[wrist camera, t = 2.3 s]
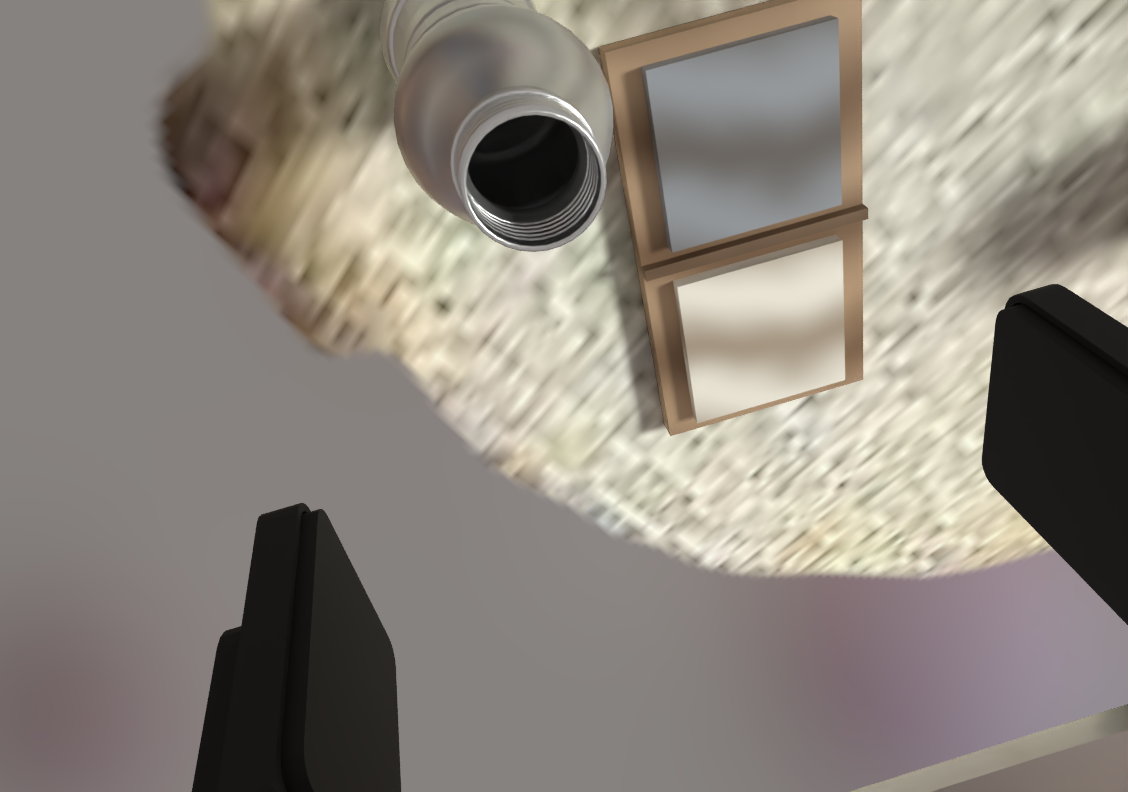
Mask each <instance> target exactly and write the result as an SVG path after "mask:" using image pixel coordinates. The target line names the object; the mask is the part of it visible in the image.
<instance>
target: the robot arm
mask: <svg viewBox="0 0 1128 792" xmlns="http://www.w3.org/2000/svg"><path fill="white" fill-rule="evenodd" d="M982 465H983V470H984V472H985V475H986V477H987V479H988V481H989V482H990V483H991V485H992V486H993V487H994V488H995V489H996V490H997V491H998V492H999V493H1000V494H1001V495H1002V496H1003V497H1004V498H1005V499H1006V500H1007V501H1008V502H1009V503H1010V504H1011V505H1012V506H1013V508H1014V509H1015V510H1016V511H1017V512H1018V513H1019V514H1020V515H1021V516H1022V517H1023V518H1024V519H1025V520H1026V521H1027V522H1028V523H1029V524H1030V525H1031V526H1032V527H1033V528H1034V529H1035V530H1036V531H1037V532H1038V533H1039V534H1040V535H1041V536H1042V537H1043V538H1044V539H1045V540H1046V541H1047V543H1048V544H1049V545H1050V546H1051V547H1052V548H1053V549H1054V550H1055V551H1056V552H1057V553H1058V554H1059V555H1060V556H1061V557H1062V558H1063V559H1064V560H1065V561H1066V562H1067V563H1068V564H1069V565H1070V566H1071V567H1072V568H1073V569H1074V570H1075V571H1076V572H1077V573H1078V574H1079V575H1080V576H1081V578H1082V579H1083V580H1084V581H1085V582H1087V584H1088V585H1089V586H1090V587H1091V588H1092V589H1093V590H1094V591H1095V592H1096V593H1097V594H1098V595H1099V596H1100V597H1101V598H1102V599H1103V600H1104V601H1105V602H1106V603H1107V604H1108V605H1109V606H1110V607H1111V608H1112V609H1113V610H1114V611H1115V612H1116V614H1117V615H1118V616H1119V617H1121V619H1122V620H1123V621H1124V622H1125V623H1126V624H1127V625H1128V327H1126V326H1125V325H1123V324H1121V323H1120V322H1118V321H1117V320H1115V319H1114V318H1112V317H1111V316H1109V315H1107V314H1106V313H1104V312H1103V311H1101V310H1100V309H1098V308H1097V307H1095V306H1093V305H1092V304H1090V303H1089V302H1087V301H1086V300H1084V299H1083V298H1081V297H1079V296H1078V295H1076V294H1075V293H1073V292H1072V291H1070V290H1068V289H1067V288H1065V287H1063V286H1061V285H1059V284H1051V285H1047V286H1044V287H1041V288H1037V289H1034V290H1030V291H1027V292H1023V293H1020V294H1017V295H1014V296H1012V297H1010V298H1009V300H1008V301H1007V303H1006V306H1005V309H1003V310H1001V311H1000V312H999V313H998V315H997V318H996V323H995V333H994V343H993V353H992V363H991V373H990V383H989V393H988V403H987V413H986V423H985V433H984V443H983V452H982ZM192 792H401V779H400V756H399V733H398V709H397V685H396V665H395V657H394V653H393V648H392V645H391V642H390V639H389V637H388V635H387V633H386V631H385V629H384V627H383V625H382V623H381V621H380V619H379V617H378V615H377V613H376V611H375V609H374V607H373V605H372V603H371V601H370V599H369V597H368V595H367V594H366V591H365V589H364V588H363V586H362V584H361V581H360V580H359V577H358V576H357V573H356V572H355V570H354V568H353V566H352V564H351V562H350V560H349V558H348V556H347V554H346V552H345V550H344V548H343V546H342V544H341V542H340V540H339V538H338V536H337V534H336V532H335V530H334V528H333V526H332V524H331V522H330V520H329V518H328V516H327V514H326V513H325V511H324V510H322V509H319V510H315V511H312V512H311V511H310V509H309V508H308V507H307V505H306V504H304V503H300V504H296V505H293V506H289V507H286V508H283V509H279V510H276V511H272V512H269V513H266V514H262V515H261V516H259V518H258V521H257V527H256V533H255V539H254V546H253V553H252V559H251V567H250V573H249V579H248V586H247V593H246V600H245V606H244V614H243V620H242V626H240V627H237V628H233V629H230V630H227V631H225V632H224V633H223V634H222V636H221V637H220V640H219V643H218V646H217V651H216V657H215V662H214V668H213V674H212V680H211V685H210V691H209V697H208V702H207V708H206V714H205V720H204V725H203V732H202V737H201V743H200V748H199V754H198V760H197V765H196V771H195V777H194V783H193V788H192ZM851 792H1128V704H1127V705H1124V706H1120V707H1117V708H1114V709H1111V710H1107V711H1104V712H1101V713H1098V714H1095V715H1092V716H1088V717H1085V718H1082V719H1079V720H1075V721H1072V722H1069V723H1066V724H1063V725H1059V726H1056V727H1053V728H1050V729H1046V730H1043V731H1040V732H1037V733H1034V734H1030V735H1027V736H1024V737H1021V738H1018V739H1015V740H1011V741H1009V742H1006V743H1002V744H999V745H996V746H993V747H989V748H986V749H983V750H980V751H977V752H974V753H970V754H967V755H964V756H961V757H958V758H955V759H951V760H948V761H945V762H942V763H939V764H936V765H933V766H929V767H926V768H923V769H920V770H917V771H914V772H911V773H907V774H904V775H901V776H898V777H895V778H892V779H889V780H885V781H882V782H879V783H876V784H873V785H869V786H866V787H863V788H860V789H857V790H854V791H851Z"/></svg>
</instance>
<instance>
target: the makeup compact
mask: <svg viewBox="0 0 1128 792" xmlns="http://www.w3.org/2000/svg"><path fill="white" fill-rule="evenodd" d="M599 52H600V58H601V63H602V69H603V74H604V77H605V79H606V81H607V83H608V87H609V91H610V96H611V100H612V105H613V132H614V138H615V144H616V149H617V155H618V161H619V166H620V172H621V178H622V184H623V189H624V195H625V201H626V207H627V212H628V218H629V224H630V229H631V235H632V241H633V247H634V252H635V258H636V264H637V270H638V275H639V281H640V287H641V292H642V298H643V304H644V310H645V315H646V321H647V327H648V332H649V338H650V344H651V350H652V355H653V361H654V367H655V373H656V378H657V384H658V390H659V395H660V401H661V407H662V413H663V418H664V424H665V426H666V428H667V430H668V432H669V434H670V436H672V435H676V434H679V433H683V432H686V431H689V430H693V429H696V428H700V427H703V426H706V425H710V424H713V423H717V422H720V421H723V420H727V419H730V418H734V417H737V416H741V415H744V414H747V413H751V412H754V411H758V410H761V409H764V408H768V407H771V406H775V405H778V404H781V403H785V402H788V401H792V400H795V399H798V398H802V397H805V396H809V395H812V394H815V393H819V392H822V391H826V390H829V389H833V388H836V387H839V386H843V385H846V384H850V383H853V382H856V381H860V380H863V229H862V220H865V219H868V208H867V207H866V206H865V205H863V204H862V0H771V1H767V2H763V3H760V4H756V5H752V6H749V7H745V8H741V9H737V10H734V11H730V12H726V13H723V14H719V15H715V16H712V17H708V18H704V19H700V20H697V21H693V22H689V23H686V24H682V25H678V26H675V27H671V28H667V29H663V30H660V31H656V32H652V33H649V34H645V35H641V36H638V37H634V38H630V39H626V40H623V41H619V42H615V43H612V44H608V45H604V46H601V47H599Z"/></svg>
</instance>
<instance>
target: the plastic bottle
mask: <svg viewBox="0 0 1128 792" xmlns="http://www.w3.org/2000/svg"><path fill="white" fill-rule="evenodd" d="M380 41H381V47H382V53H383V56H384V59H385V62H386V64H387V67H388V70H389V71H390V73H391V75H392V77H393V78H394V80H395V82H396V83H397V88H396V92H395V108H394V125H395V131H396V137H397V143H398V146H399V149H400V151H401V154H402V157H403V159H404V162H405V164H406V166H407V168H408V169H409V171H410V173H411V174H412V176H413V177H414V179H415V181H416V182H417V183H418V185H419V186H420V187H421V188H422V189H423V190H424V191H425V192H426V193H427V194H428V196H429V197H430V198H431V199H433V200H434V201H435V202H437V203H438V204H439V205H441V206H442V207H443V208H445V209H446V210H447V211H449V212H450V213H452V214H454V215H456V216H458V217H460V218H462V219H464V220H466V221H468V222H470V223H472V224H474V225H477V226H478V227H479V228H480V230H481V231H482V232H483V233H484V234H486V235H487V236H488V237H490V238H491V239H492V240H494V241H495V242H498V243H500V244H502V245H504V246H506V247H509V248H512V249H516V250H520V251H531V252H536V251H546V250H550V249H554V248H557V247H560V246H562V245H564V244H566V243H568V242H570V241H572V240H574V239H575V238H576V237H578V236H579V235H580V234H582V233H583V232H584V231H585V230H586V229H587V228H588V227H589V225H590V224H591V223H592V222H593V221H594V219H595V217H596V216H597V214H598V212H599V211H600V208H601V206H602V203H603V200H604V197H605V191H606V185H607V180H606V163H607V160H608V157H609V154H610V148H611V142H612V136H613V105H612V100H611V96H610V91H609V87H608V83H607V81H606V79H605V77H604V74H603V72H602V70H601V67H600V65H599V63H598V62H597V61H596V59H595V58H594V56H593V55H592V53H591V52H590V50H589V49H588V48H587V46H586V45H585V44H584V43H583V42H582V41H581V40H580V39H579V38H578V37H576V36H575V35H574V34H573V33H572V32H571V31H570V30H569V29H567V28H566V27H564V26H562V25H561V24H559V23H558V22H556V21H555V20H553V19H551V18H549V17H548V16H546V15H544V14H541V13H539V12H537V10H536V8H535V6H534V3H533V1H532V0H385V2H384V6H383V10H382V15H381V19H380Z"/></svg>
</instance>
